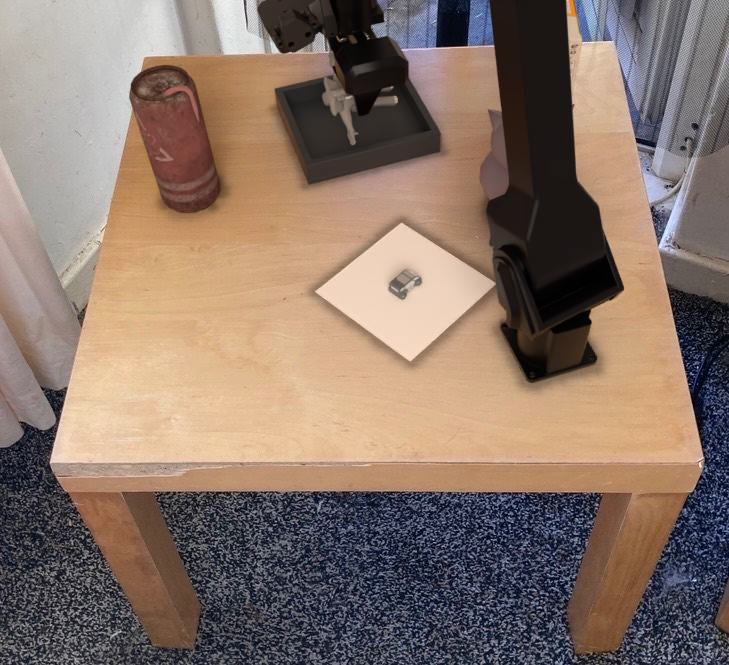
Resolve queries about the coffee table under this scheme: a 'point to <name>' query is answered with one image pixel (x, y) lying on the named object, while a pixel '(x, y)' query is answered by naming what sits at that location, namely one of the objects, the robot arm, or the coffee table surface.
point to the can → (175, 137)
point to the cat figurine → (495, 160)
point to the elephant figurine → (347, 100)
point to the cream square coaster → (405, 290)
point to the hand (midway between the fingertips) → (354, 96)
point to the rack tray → (376, 131)
